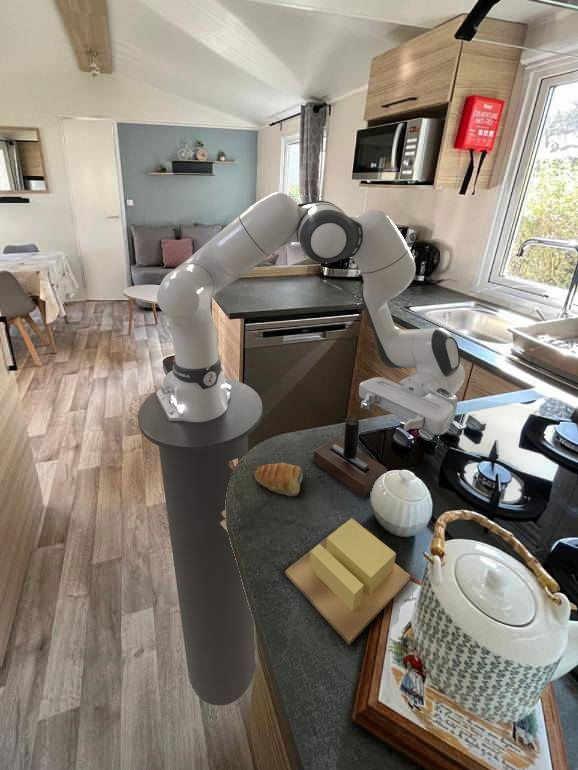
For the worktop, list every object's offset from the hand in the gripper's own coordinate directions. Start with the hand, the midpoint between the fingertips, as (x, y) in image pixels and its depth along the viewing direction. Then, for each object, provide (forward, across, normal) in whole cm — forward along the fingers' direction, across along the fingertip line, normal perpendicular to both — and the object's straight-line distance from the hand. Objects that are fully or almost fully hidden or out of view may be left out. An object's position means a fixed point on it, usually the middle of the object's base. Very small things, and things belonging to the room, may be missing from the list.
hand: (382, 416), depth 80 cm
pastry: (+23, -6, +9) cm, 26 cm away
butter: (+26, +14, +8) cm, 30 cm away
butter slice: (+31, +14, +8) cm, 35 cm away
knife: (+10, 0, +9) cm, 13 cm away
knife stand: (+10, 0, +9) cm, 13 cm away
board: (+28, +14, +9) cm, 33 cm away
